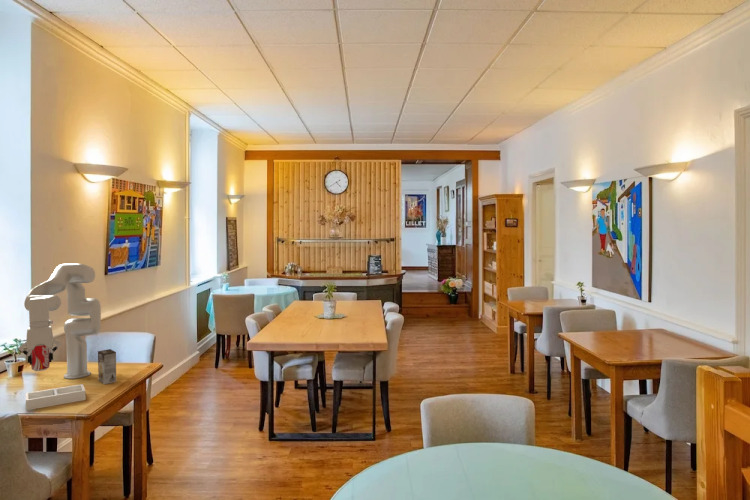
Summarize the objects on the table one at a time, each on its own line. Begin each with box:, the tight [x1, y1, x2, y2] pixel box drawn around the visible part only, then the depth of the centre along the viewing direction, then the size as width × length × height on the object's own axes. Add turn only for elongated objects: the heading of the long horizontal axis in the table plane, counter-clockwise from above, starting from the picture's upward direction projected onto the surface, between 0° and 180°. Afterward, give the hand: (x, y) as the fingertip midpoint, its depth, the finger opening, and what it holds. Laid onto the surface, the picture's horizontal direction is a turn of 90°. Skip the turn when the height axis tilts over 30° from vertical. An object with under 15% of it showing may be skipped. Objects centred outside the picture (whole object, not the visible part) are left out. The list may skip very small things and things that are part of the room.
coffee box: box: [97, 348, 117, 385], centre depth 261 cm, size 9×6×16 cm
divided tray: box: [25, 383, 87, 411], centre depth 231 cm, size 12×23×4 cm, turn 126°
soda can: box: [30, 344, 51, 372], centre depth 227 cm, size 7×7×12 cm
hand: (40, 362), depth 227 cm, fingers closed on soda can, 7 cm apart
